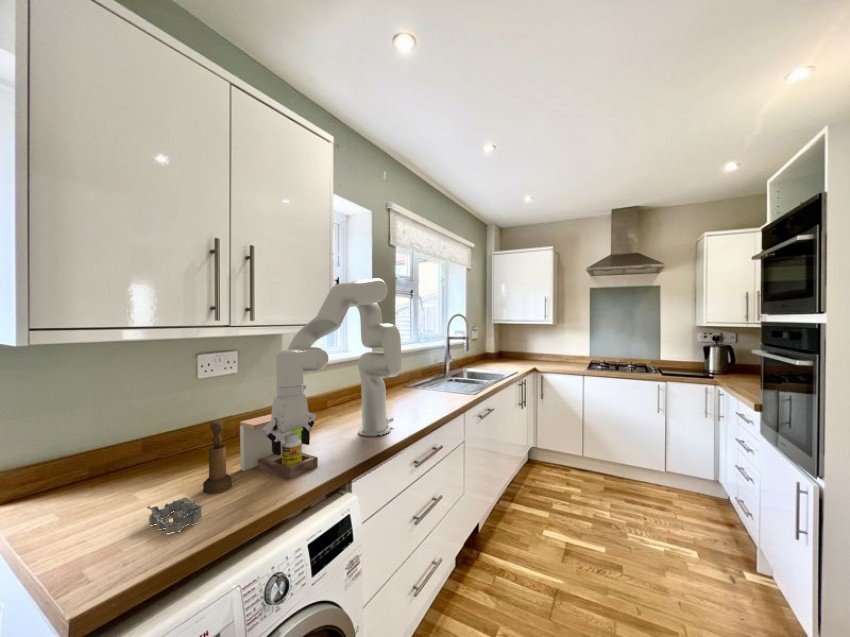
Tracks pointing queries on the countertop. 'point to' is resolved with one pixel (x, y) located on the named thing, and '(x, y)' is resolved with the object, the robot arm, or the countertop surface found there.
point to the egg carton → (176, 515)
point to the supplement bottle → (291, 449)
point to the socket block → (275, 467)
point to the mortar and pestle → (217, 464)
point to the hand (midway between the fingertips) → (291, 449)
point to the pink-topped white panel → (255, 441)
